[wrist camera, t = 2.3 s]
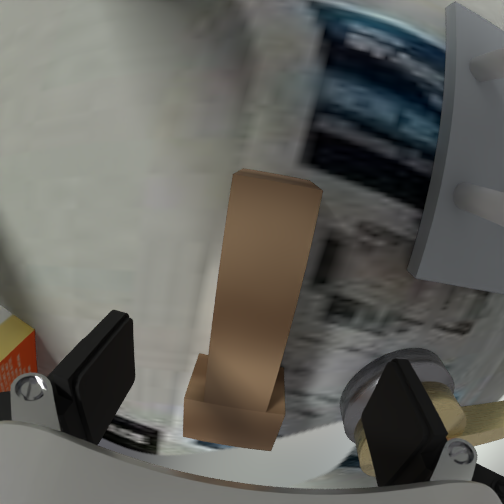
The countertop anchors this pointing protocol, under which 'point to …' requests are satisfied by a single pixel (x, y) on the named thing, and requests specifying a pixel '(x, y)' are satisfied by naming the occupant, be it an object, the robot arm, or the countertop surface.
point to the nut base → (368, 377)
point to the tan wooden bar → (253, 311)
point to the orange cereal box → (15, 349)
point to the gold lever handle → (448, 422)
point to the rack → (467, 163)
